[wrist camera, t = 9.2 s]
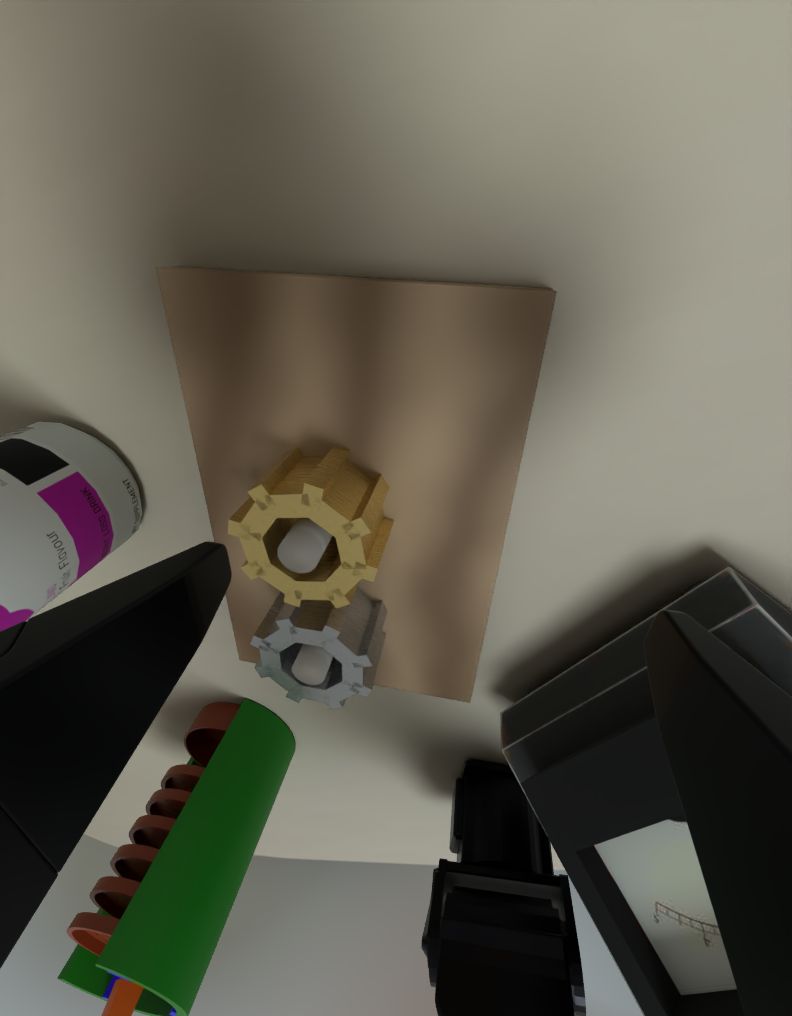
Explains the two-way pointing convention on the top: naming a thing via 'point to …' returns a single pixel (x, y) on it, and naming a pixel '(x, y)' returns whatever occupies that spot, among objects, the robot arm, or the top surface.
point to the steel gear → (323, 645)
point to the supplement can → (58, 513)
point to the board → (368, 437)
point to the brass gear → (329, 503)
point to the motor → (182, 866)
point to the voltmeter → (639, 799)
